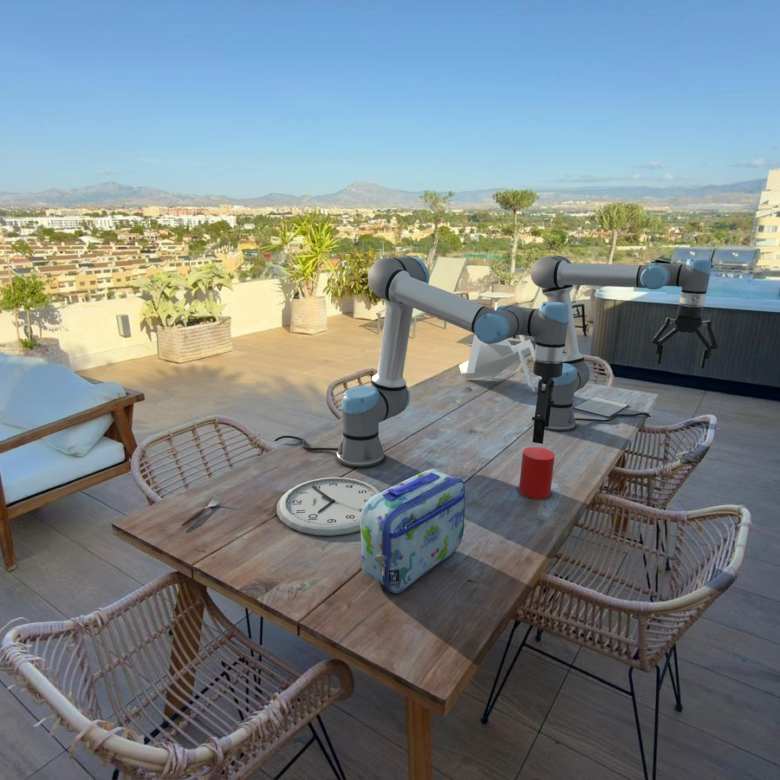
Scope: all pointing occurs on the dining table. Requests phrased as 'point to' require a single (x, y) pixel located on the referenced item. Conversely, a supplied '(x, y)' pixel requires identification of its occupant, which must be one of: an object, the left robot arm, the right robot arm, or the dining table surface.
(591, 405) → the invitation card
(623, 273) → the right robot arm
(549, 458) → the tin
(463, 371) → the white plastic object
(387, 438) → the dining table surface
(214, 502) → the fork
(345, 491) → the wall clock
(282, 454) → the dining table surface
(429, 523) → the lunch box
